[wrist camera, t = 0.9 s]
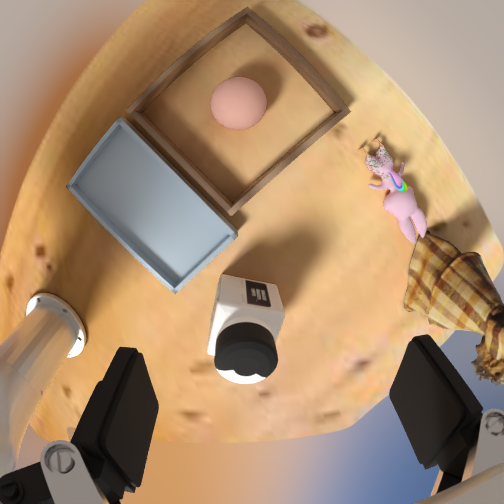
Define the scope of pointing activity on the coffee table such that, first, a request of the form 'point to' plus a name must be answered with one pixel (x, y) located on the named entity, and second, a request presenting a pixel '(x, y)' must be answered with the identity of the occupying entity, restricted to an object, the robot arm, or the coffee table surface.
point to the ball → (238, 103)
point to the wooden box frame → (198, 52)
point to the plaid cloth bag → (458, 299)
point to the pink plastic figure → (396, 193)
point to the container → (245, 329)
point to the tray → (150, 206)
